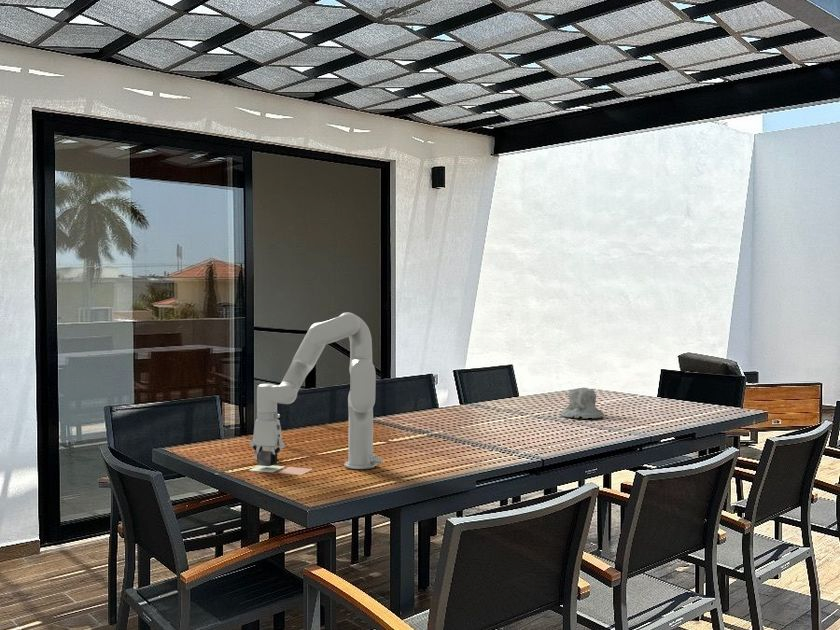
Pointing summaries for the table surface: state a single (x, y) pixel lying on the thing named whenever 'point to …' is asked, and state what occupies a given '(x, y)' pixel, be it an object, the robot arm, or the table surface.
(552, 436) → the table surface
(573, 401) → the hat
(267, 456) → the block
